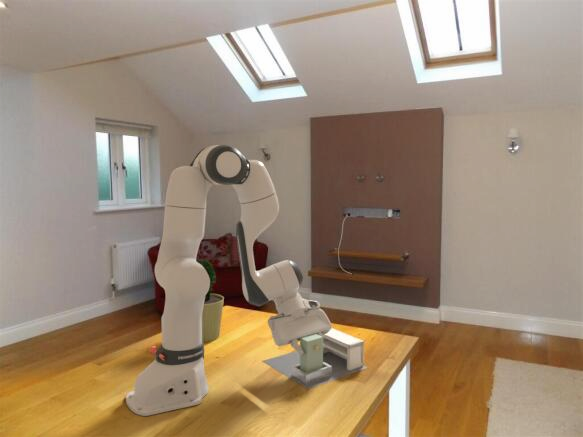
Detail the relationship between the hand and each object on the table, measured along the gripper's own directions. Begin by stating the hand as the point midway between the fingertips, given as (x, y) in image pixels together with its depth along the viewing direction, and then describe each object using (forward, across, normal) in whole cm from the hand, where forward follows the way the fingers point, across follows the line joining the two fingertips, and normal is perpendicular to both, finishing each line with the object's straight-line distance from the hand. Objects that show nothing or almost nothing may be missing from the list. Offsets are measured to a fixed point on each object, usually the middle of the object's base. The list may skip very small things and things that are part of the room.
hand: (312, 351), depth 137 cm
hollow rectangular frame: (+5, 0, +6) cm, 8 cm away
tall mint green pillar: (+4, 0, +5) cm, 6 cm away
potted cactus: (-31, -10, +44) cm, 54 cm away
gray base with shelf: (+2, +6, +11) cm, 13 cm away
